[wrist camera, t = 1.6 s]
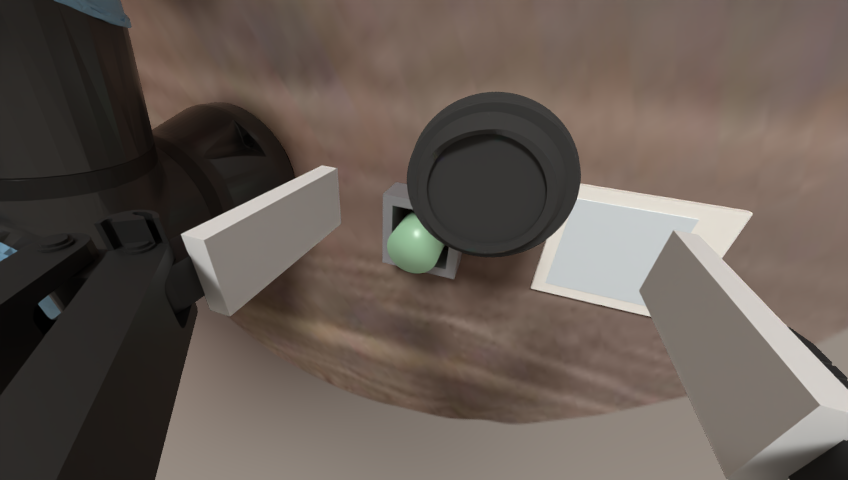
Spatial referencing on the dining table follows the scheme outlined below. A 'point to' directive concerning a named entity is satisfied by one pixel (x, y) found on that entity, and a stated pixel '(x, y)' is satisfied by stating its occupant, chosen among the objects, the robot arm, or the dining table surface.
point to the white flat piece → (624, 243)
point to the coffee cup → (493, 175)
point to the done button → (413, 246)
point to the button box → (392, 217)
